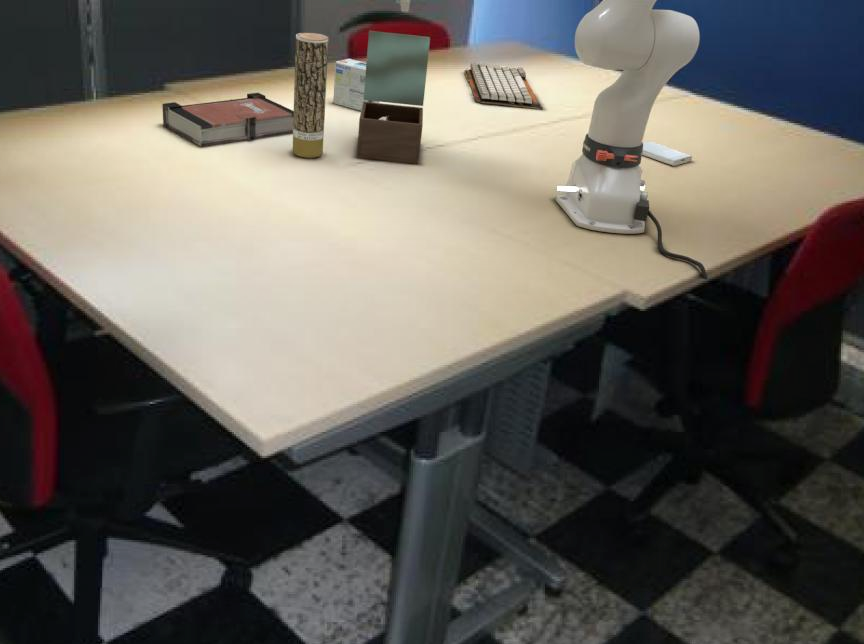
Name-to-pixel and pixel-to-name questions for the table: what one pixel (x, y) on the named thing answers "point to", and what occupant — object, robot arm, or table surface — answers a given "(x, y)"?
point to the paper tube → (309, 94)
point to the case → (390, 132)
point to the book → (228, 120)
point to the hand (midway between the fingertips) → (401, 6)
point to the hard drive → (665, 154)
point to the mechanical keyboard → (501, 86)
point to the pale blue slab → (396, 68)
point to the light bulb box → (350, 84)
